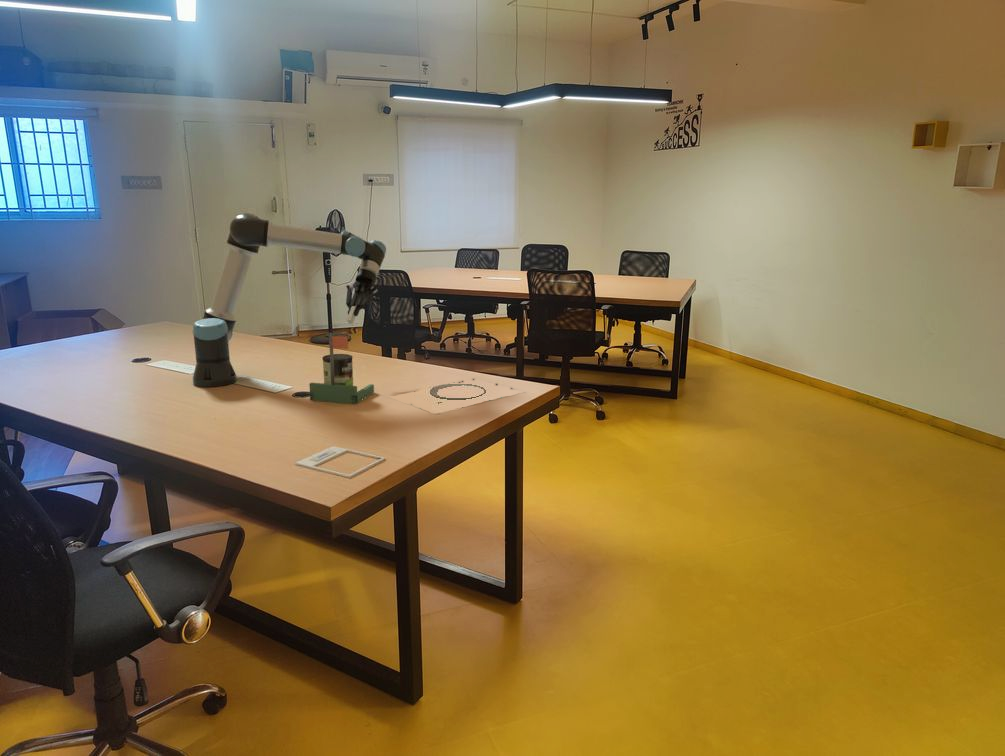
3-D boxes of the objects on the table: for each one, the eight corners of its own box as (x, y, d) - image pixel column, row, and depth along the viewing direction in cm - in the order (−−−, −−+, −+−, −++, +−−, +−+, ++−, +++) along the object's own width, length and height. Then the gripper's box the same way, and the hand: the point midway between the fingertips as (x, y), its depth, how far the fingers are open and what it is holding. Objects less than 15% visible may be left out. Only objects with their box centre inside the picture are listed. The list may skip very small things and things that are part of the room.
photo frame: (333, 445, 185) (385, 457, 177) (333, 449, 185) (385, 460, 177) (295, 462, 172) (349, 475, 164) (295, 466, 172) (349, 479, 165)
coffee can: (359, 393, 240) (358, 355, 236) (343, 400, 230) (342, 360, 227) (334, 390, 243) (333, 352, 240) (318, 397, 234) (316, 358, 230)
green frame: (331, 389, 244) (328, 324, 238) (374, 392, 241) (372, 327, 235) (310, 400, 230) (306, 332, 224) (355, 404, 226) (353, 335, 220)
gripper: (385, 281, 267) (368, 328, 255) (355, 279, 269) (337, 326, 258) (380, 269, 260) (362, 317, 249) (349, 267, 263) (330, 314, 251)
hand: (349, 321), depth 253 cm, fingers closed
